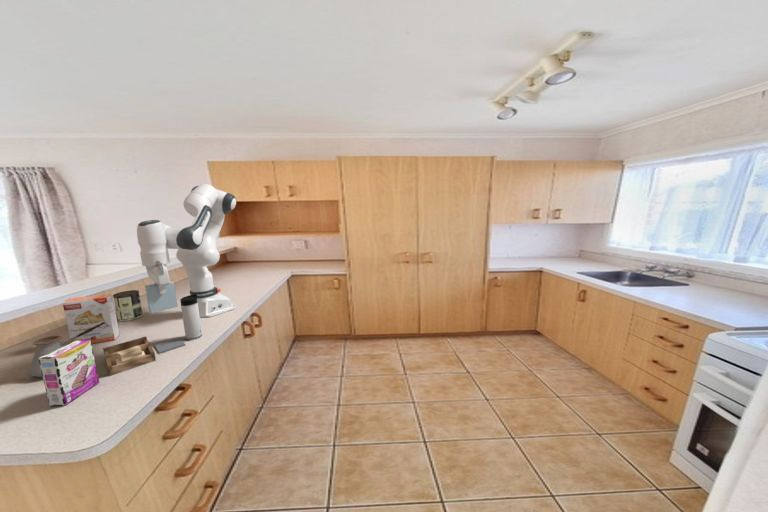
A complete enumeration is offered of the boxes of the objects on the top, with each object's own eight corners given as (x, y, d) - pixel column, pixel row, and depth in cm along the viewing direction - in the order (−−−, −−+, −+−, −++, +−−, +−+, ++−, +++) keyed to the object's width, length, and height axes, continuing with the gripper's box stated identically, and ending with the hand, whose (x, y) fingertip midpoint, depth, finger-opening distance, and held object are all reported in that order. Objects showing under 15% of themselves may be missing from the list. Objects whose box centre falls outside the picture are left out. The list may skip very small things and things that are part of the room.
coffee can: (139, 312, 154) (135, 288, 152) (146, 316, 149) (141, 292, 146) (115, 318, 146) (110, 293, 143) (121, 323, 140) (116, 297, 138)
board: (175, 304, 119) (171, 280, 117) (177, 306, 117) (174, 282, 115) (149, 310, 113) (144, 285, 110) (151, 313, 110) (146, 287, 108)
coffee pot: (26, 385, 92) (14, 345, 89) (34, 370, 100) (24, 333, 97) (113, 361, 106) (106, 326, 103) (114, 349, 114) (107, 317, 111)
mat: (179, 338, 124) (179, 337, 124) (185, 345, 118) (185, 344, 118) (154, 345, 118) (154, 344, 118) (159, 353, 111) (159, 352, 111)
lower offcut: (144, 358, 108) (143, 350, 108) (146, 362, 106) (145, 354, 105) (117, 367, 102) (115, 359, 102) (118, 371, 100) (116, 363, 99)
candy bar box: (66, 406, 82) (54, 357, 79) (49, 407, 82) (36, 358, 79) (101, 382, 93) (91, 339, 90) (85, 383, 93) (75, 339, 90)
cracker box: (71, 348, 116) (60, 302, 112) (79, 341, 121) (69, 297, 117) (115, 340, 122) (106, 297, 118) (120, 335, 127) (112, 293, 123)
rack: (147, 346, 117) (146, 336, 116) (155, 360, 107) (153, 348, 106) (105, 359, 107) (103, 348, 106) (109, 375, 97) (107, 363, 96)
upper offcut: (138, 352, 107) (137, 345, 106) (142, 354, 105) (140, 347, 104) (118, 359, 101) (117, 352, 101) (122, 362, 100) (120, 354, 99)
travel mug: (205, 335, 127) (200, 295, 123) (191, 341, 121) (185, 299, 118) (197, 332, 130) (192, 293, 126) (182, 338, 124) (176, 297, 120)
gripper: (171, 262, 106) (176, 295, 109) (159, 255, 119) (164, 285, 122) (151, 264, 102) (156, 299, 104) (141, 257, 115) (146, 288, 117)
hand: (161, 291), depth 113 cm, fingers closed on board, 4 cm apart
